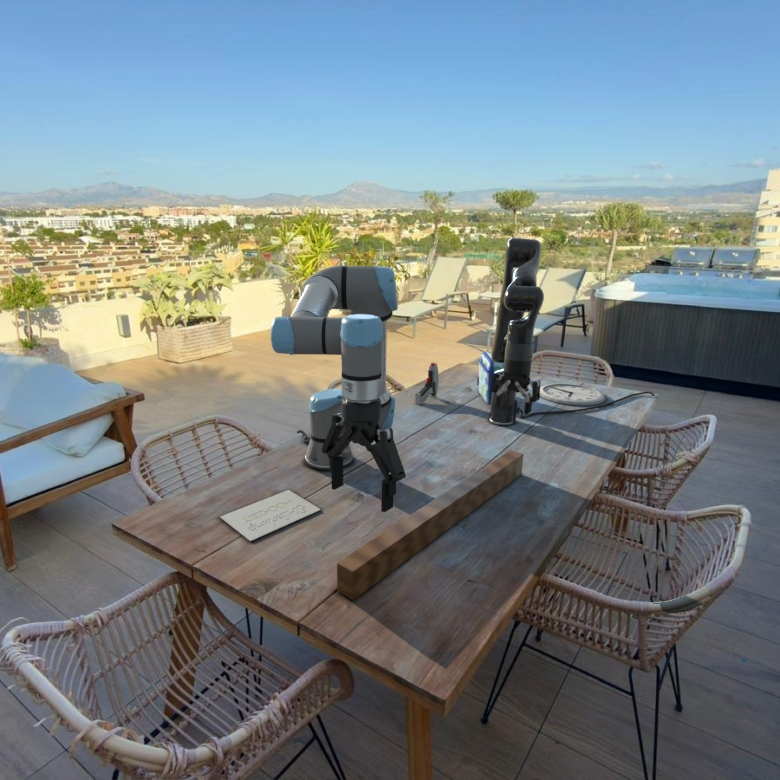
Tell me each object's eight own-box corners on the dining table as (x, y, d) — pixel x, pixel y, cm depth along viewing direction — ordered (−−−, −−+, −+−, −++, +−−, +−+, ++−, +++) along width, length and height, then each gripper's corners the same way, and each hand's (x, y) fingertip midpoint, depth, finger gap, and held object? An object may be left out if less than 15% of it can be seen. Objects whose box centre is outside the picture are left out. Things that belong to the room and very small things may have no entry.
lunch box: (475, 390, 246) (478, 346, 240) (498, 390, 246) (501, 347, 240) (484, 408, 221) (487, 360, 215) (509, 409, 221) (513, 360, 215)
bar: (508, 470, 166) (510, 450, 163) (521, 474, 163) (523, 454, 161) (337, 591, 109) (336, 562, 107) (352, 600, 106) (352, 571, 104)
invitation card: (288, 489, 150) (320, 509, 140) (288, 490, 150) (320, 510, 140) (219, 516, 136) (250, 540, 125) (219, 517, 136) (250, 541, 126)
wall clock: (618, 401, 228) (551, 402, 225) (618, 405, 228) (551, 406, 226) (588, 382, 256) (528, 382, 254) (587, 385, 257) (528, 385, 254)
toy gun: (414, 370, 220) (434, 361, 231) (415, 405, 226) (434, 395, 237) (419, 371, 219) (438, 362, 230) (419, 406, 225) (438, 396, 236)
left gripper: (302, 388, 104) (305, 484, 110) (400, 418, 89) (398, 527, 95) (329, 380, 109) (331, 472, 116) (426, 407, 94) (422, 511, 100)
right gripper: (489, 355, 150) (485, 408, 155) (536, 363, 141) (530, 419, 146) (502, 350, 156) (497, 402, 161) (547, 358, 147) (541, 413, 152)
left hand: (361, 497), depth 105 cm, fingers open, 13 cm apart
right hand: (513, 410), depth 153 cm, fingers open, 8 cm apart
